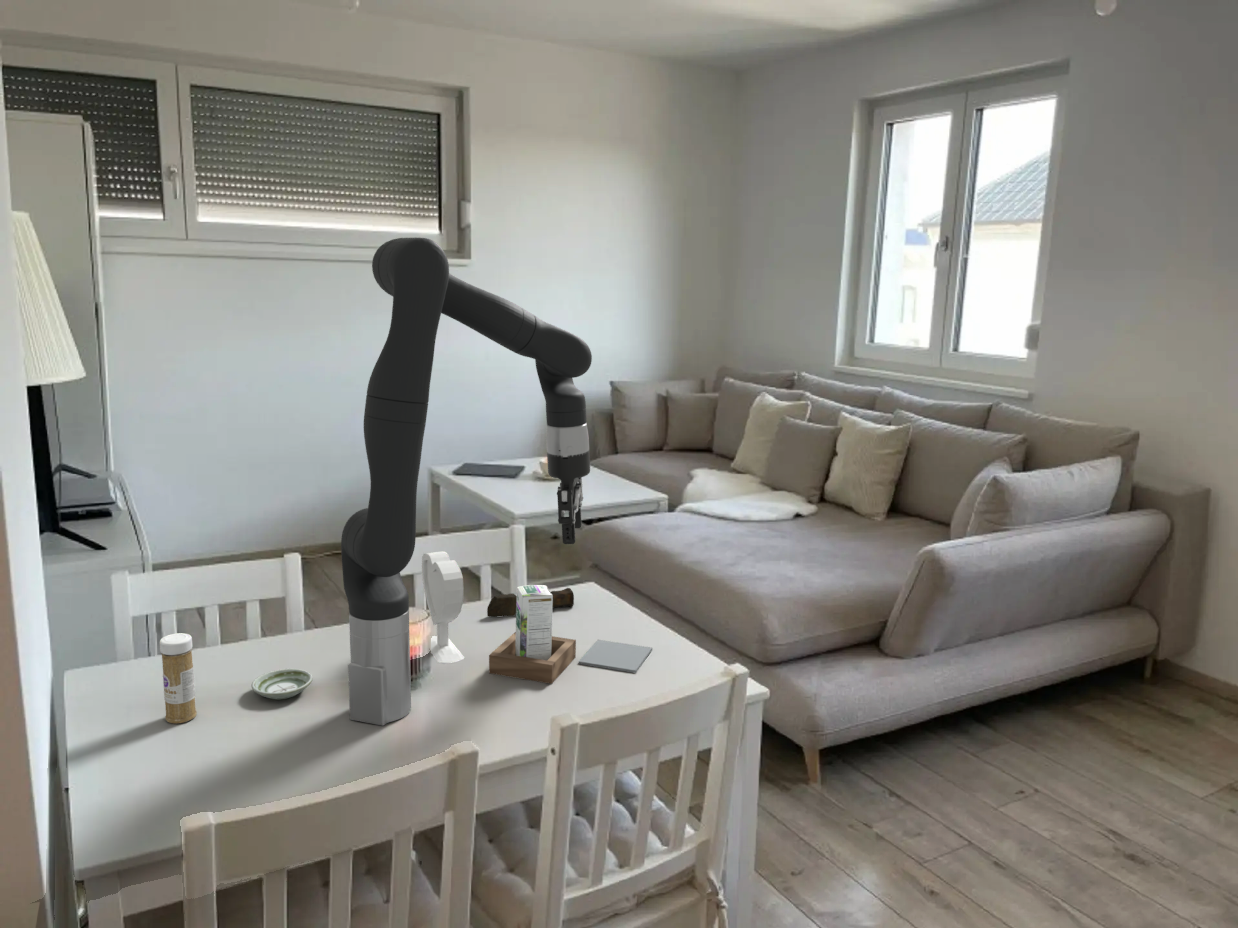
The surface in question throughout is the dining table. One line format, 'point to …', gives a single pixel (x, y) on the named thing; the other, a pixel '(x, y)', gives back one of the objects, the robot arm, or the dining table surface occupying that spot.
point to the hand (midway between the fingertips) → (572, 535)
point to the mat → (616, 656)
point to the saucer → (282, 683)
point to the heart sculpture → (443, 601)
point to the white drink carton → (534, 622)
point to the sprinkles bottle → (178, 677)
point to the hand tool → (507, 602)
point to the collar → (532, 661)
